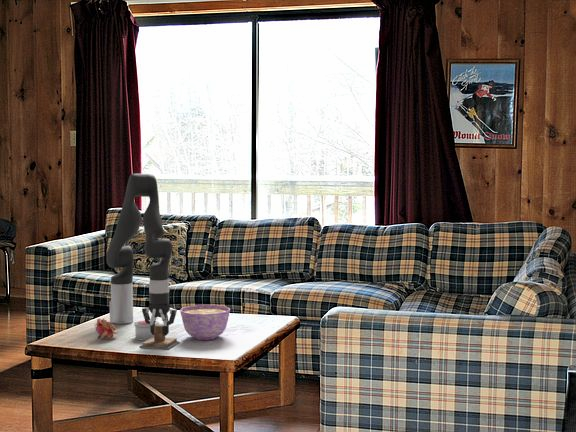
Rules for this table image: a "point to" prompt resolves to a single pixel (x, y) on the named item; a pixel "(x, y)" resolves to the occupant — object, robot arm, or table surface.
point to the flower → (105, 329)
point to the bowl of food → (205, 320)
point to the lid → (159, 338)
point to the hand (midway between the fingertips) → (159, 334)
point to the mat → (161, 347)
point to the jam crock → (143, 330)
